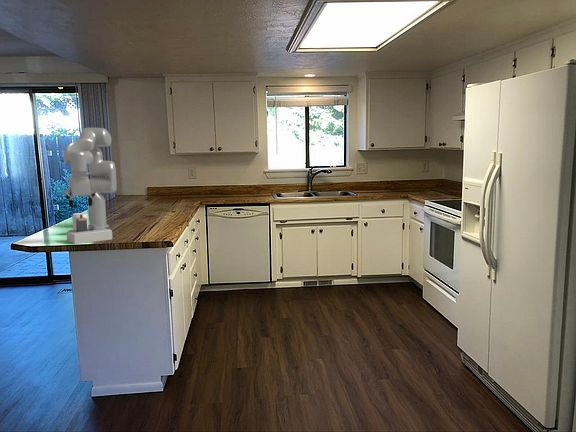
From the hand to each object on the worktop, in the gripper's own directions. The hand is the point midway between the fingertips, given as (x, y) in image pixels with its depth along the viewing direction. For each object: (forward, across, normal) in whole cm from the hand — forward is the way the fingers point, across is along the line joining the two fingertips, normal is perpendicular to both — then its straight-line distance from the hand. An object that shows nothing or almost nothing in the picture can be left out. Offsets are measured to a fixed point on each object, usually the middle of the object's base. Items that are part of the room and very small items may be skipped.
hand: (80, 206), depth 245 cm
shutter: (+14, -8, +1) cm, 16 cm away
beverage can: (+20, -6, -21) cm, 30 cm away
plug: (+16, 0, +1) cm, 16 cm away
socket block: (+19, -4, +1) cm, 19 cm away
